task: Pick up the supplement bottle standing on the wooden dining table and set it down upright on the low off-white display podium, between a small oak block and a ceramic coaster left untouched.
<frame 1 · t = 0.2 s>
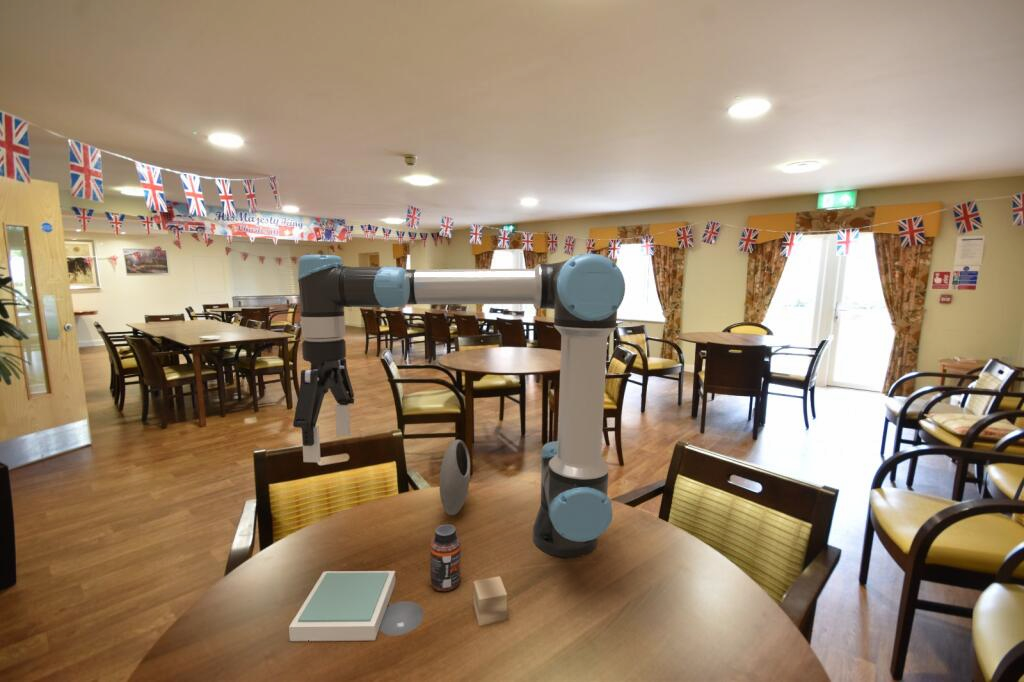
hand: (329, 447, 84), 27 cm above the table, fingers open, 13 cm apart
podium: (347, 609, 79), on the table
grey hollow oval piece: (455, 511, 114), on the table
oak block: (489, 612, 78), on the table
coaster: (400, 621, 77), on the table
supplement bottle: (445, 583, 86), on the table
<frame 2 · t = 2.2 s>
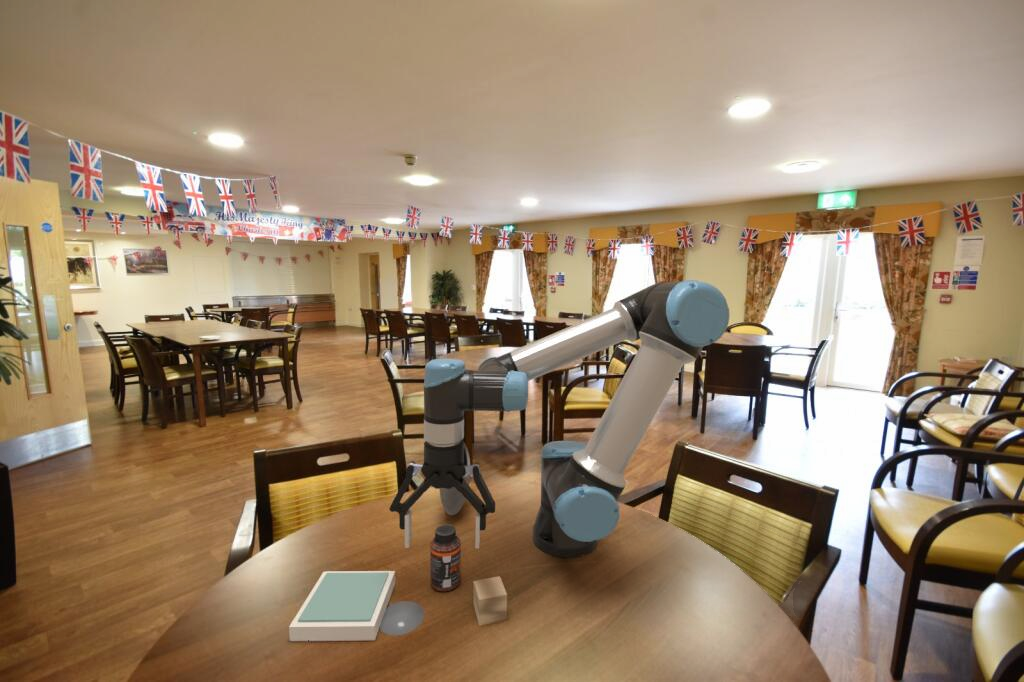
hand: (443, 544, 85), 8 cm above the table, fingers open, 13 cm apart
coaster: (401, 621, 77), on the table, touching podium
everything else where it was.
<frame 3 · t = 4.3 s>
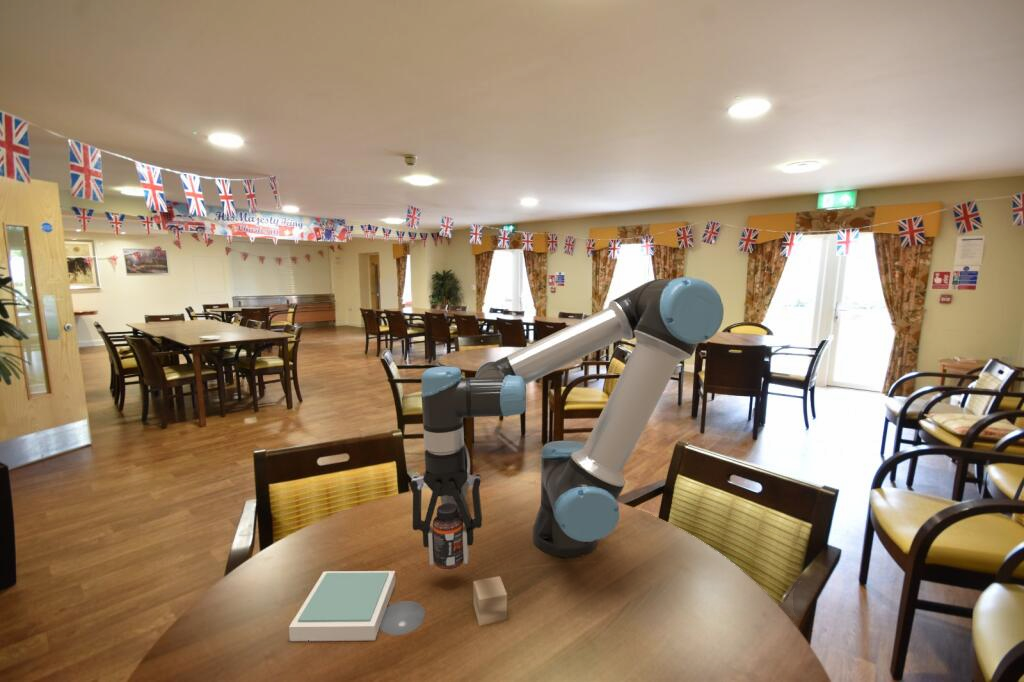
hand: (449, 559, 85), 5 cm above the table, fingers closed on supplement bottle, 6 cm apart
supplement bottle: (449, 562, 86), point 4 cm above the table, touching gripper
everything else where it was.
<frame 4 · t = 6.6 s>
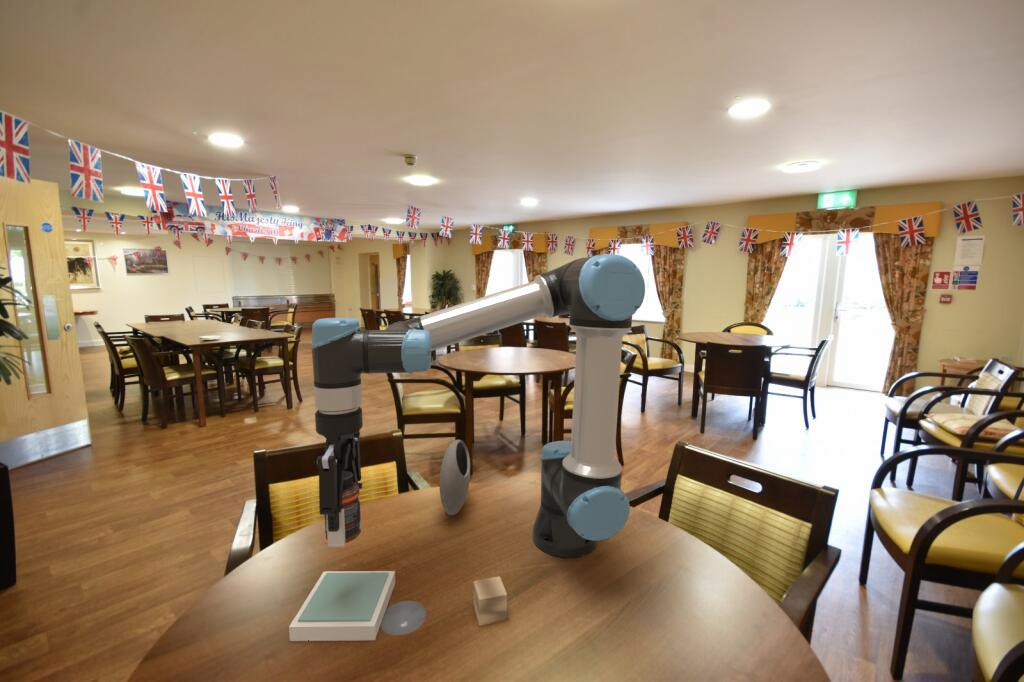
hand: (343, 534, 77), 15 cm above the table, fingers closed on supplement bottle, 6 cm apart
supplement bottle: (343, 536, 77), point 14 cm above the table, touching gripper
everything else where it was.
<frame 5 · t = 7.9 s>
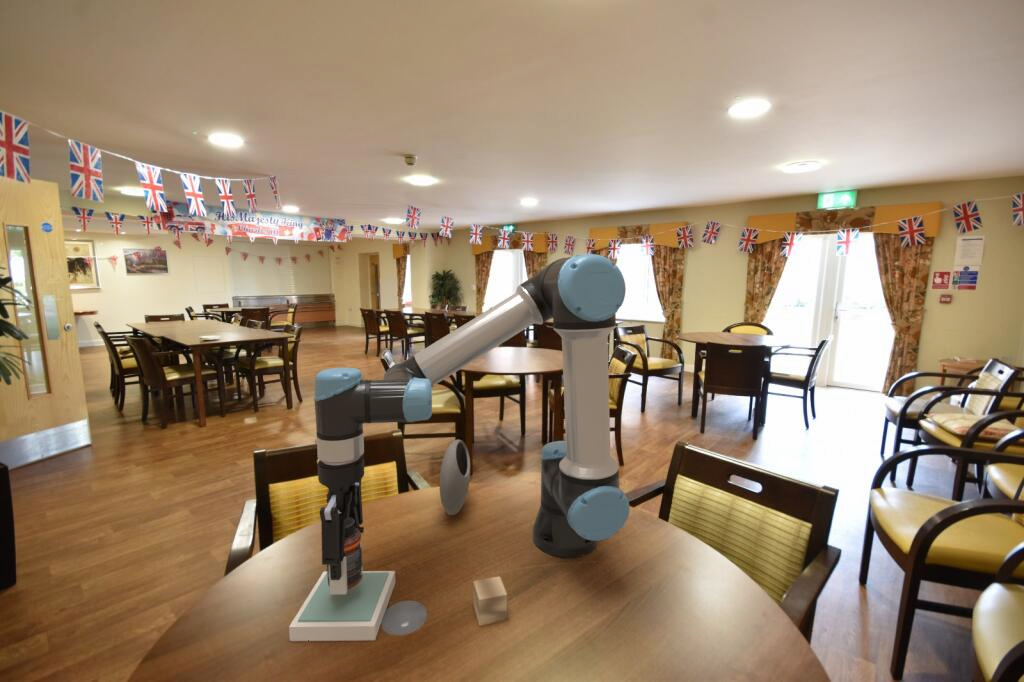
hand: (345, 579, 78), 6 cm above the table, fingers closed on supplement bottle, 6 cm apart
supplement bottle: (345, 582, 78), point 5 cm above the table, touching gripper
everything else where it was.
when the fingers open (4 cm above the table, at t = 9.0 s): supplement bottle drops 1 cm, resting on podium.
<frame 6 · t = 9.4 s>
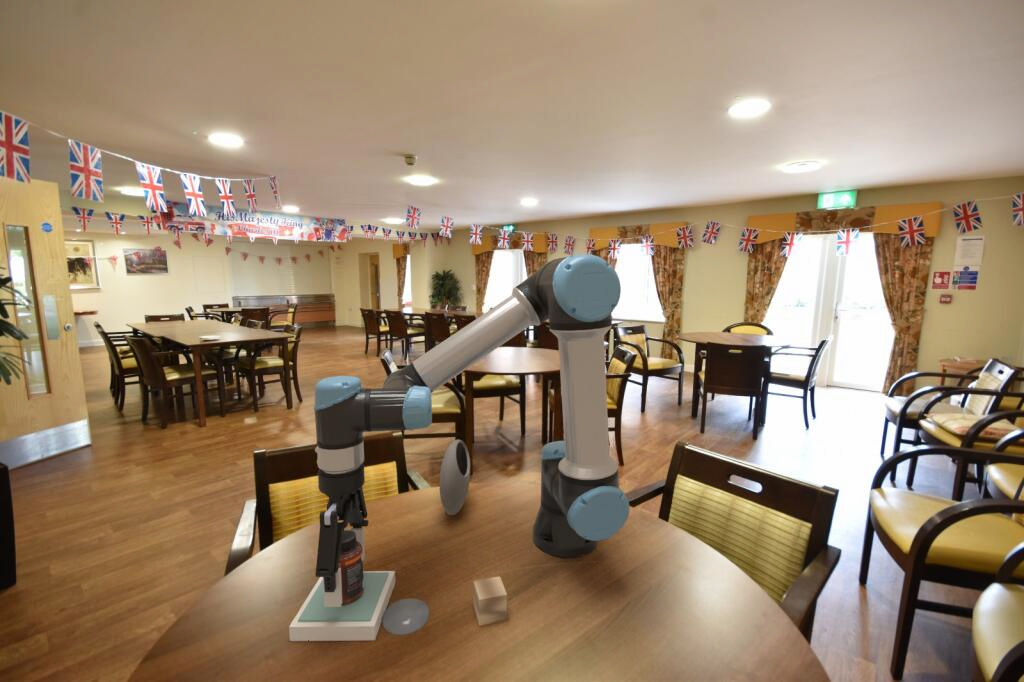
hand: (346, 581, 78), 6 cm above the table, fingers open, 11 cm apart
coaster: (406, 618, 77), on the table
supplement bottle: (347, 595, 78), point 3 cm above the table, touching podium
everything else where it was.
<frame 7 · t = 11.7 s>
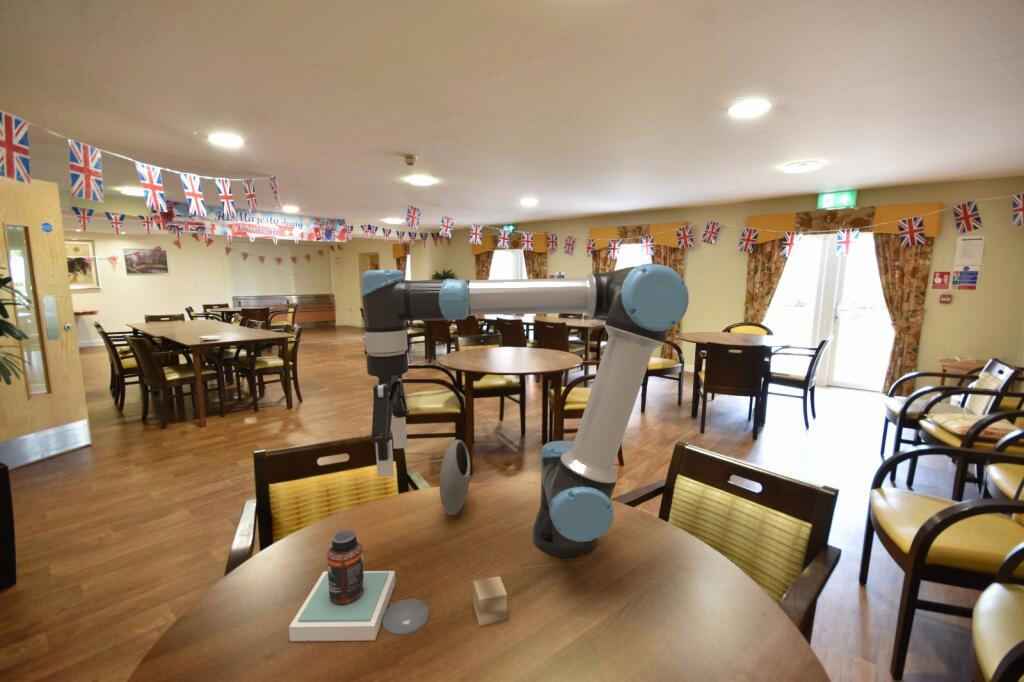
hand: (393, 460, 84), 25 cm above the table, fingers open, 13 cm apart
nothing on the table moved.
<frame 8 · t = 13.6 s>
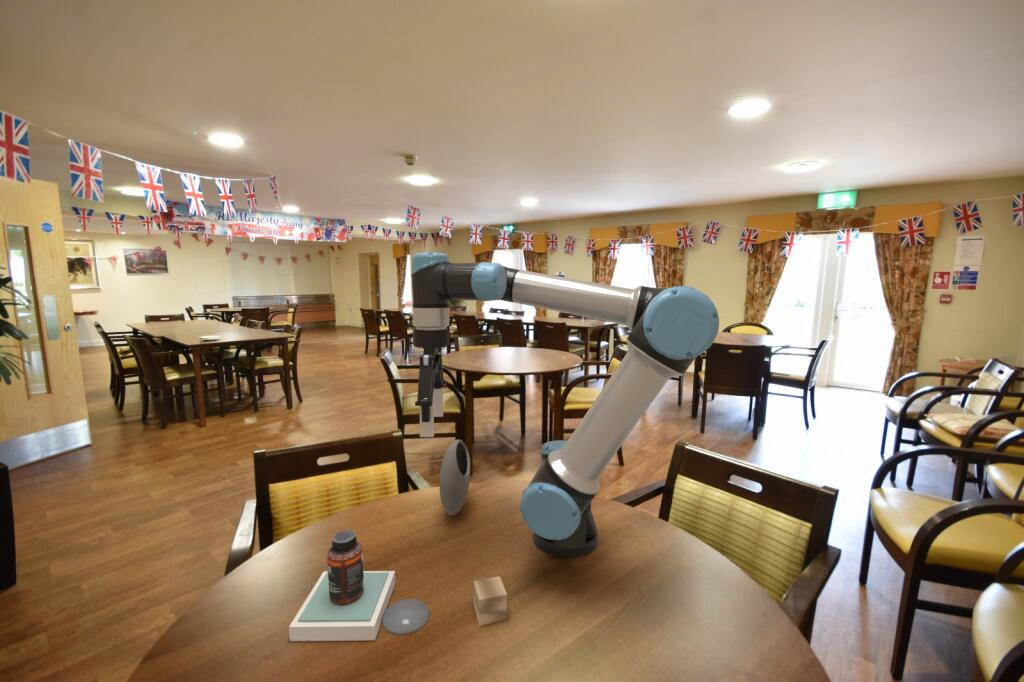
hand: (432, 425, 93), 29 cm above the table, fingers open, 13 cm apart
nothing on the table moved.
at the end: supplement bottle inside the target area on the podium (0.0 cm from its centre), point 2.8 cm above the podium's base; supplement bottle tilted 0°; the gripper is holding nothing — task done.
